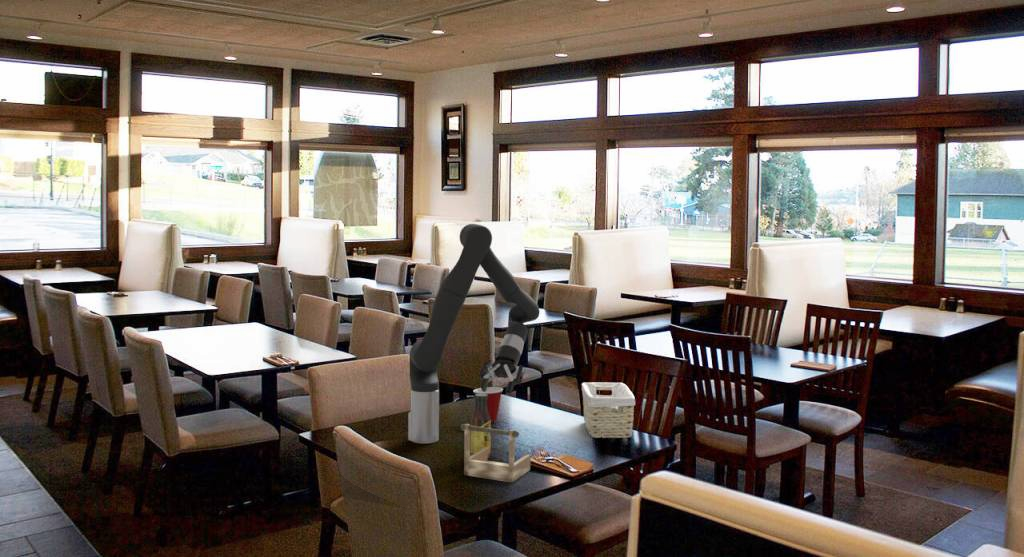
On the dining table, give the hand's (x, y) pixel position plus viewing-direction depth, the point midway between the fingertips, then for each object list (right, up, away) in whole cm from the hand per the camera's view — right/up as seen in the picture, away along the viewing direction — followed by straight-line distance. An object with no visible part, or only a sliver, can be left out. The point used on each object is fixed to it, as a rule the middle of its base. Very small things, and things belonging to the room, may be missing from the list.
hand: (495, 391), depth 279 cm
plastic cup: (-3, -16, +36) cm, 40 cm away
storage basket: (+39, -17, +27) cm, 50 cm away
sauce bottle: (-4, -20, -8) cm, 22 cm away
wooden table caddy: (+1, -21, -22) cm, 31 cm away
